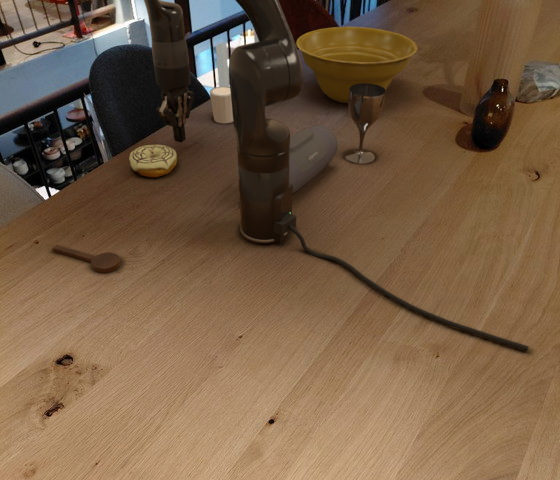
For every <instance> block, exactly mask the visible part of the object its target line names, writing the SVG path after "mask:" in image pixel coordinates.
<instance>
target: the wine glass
mask: <svg viewBox="0 0 560 480" xmlns="http://www.w3.org/2000/svg"><path fill="white" fill-rule="evenodd" d="M386 92H387V91H386V89H384V88H383V87H381V86H379V85H376V84H369V83H361V84H355V85H353V86H351V87H350V88H349V97H348V103H347V104H348V113H349V117H350V119H351V120H352V122H353V123H354V125H355V126H356V128H357V131H358V133H359V142H358V143H359V145H358V149H351V150H348V151H347V152H345V153H344V158H345V159H346V160H347V161H349V162H351V163H354V164H369V163H372V162H373V161H375V158H376V157H375V154H373V152H372V151H368V150H364V149H363V145H364V140H365V136H366V134H367V131H368V130H369V128H370V127H372V125H374V124H375V123H376V122H377V120H378V119H379V118H380V116H381V114H382V110H383V108H384V105H385V99H386Z"/></svg>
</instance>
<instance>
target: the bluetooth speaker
mask: <svg viewBox="0 0 560 480" xmlns="http://www.w3.org/2000/svg"><path fill="white" fill-rule="evenodd" d="M338 143H339V142H338V139H337V137H336V134H335V133H334V132H333V130H332V129H330V128H329V127H327V126H325V125H320V124H317V125H314V126H311V127H309V128H303V129H301V130H298V131H297V132H295V133H294V134H293V135H290V162H289V183H290V184H293V194H295V193H296V192H298V191H300V189H302V188H303V187H304V186H306V185H307V184H308V183H309V182H310V181H311V180H313V179H314V178H315V177H316V176H317V175H318V174H320V172H321V171H323V169H325V167H327V166H328V165H329V164H330V163H331V162H332V160H333V159H334V158H335V156H336V155H337V152H338V148H339V144H338Z"/></svg>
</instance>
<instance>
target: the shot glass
mask: <svg viewBox="0 0 560 480" xmlns="http://www.w3.org/2000/svg"><path fill="white" fill-rule="evenodd" d="M209 98H210V103H211V109H212V116H213V121H214V122H216V123H218V124H231V123H233V113H232V101H231V92H230V86H216V87H213V88H211V89H210V90H209Z"/></svg>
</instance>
